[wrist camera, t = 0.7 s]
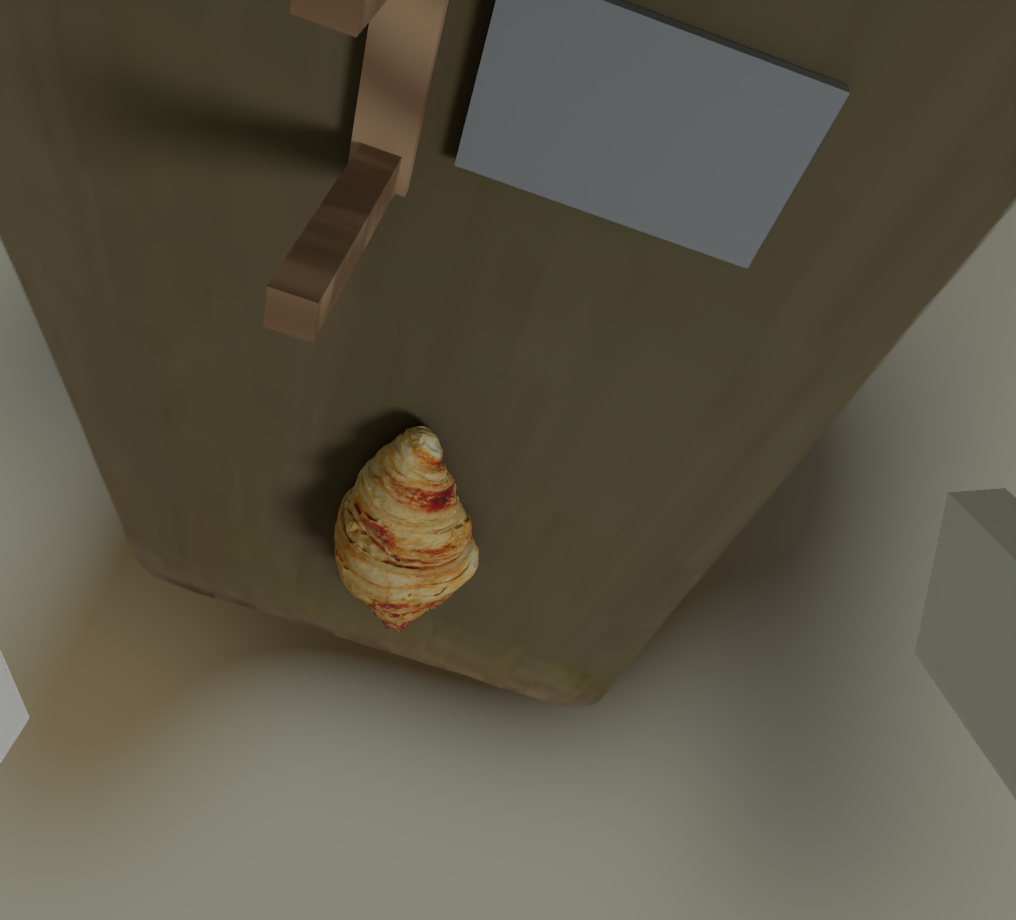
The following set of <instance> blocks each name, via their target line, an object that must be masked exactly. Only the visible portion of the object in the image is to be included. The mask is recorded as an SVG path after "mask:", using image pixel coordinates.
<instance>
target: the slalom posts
mask: <svg viewBox="0 0 1016 920" xmlns="http://www.w3.org/2000/svg"><path fill="white" fill-rule="evenodd" d="M448 1H449V0H291V7H290V14H292V15H295V16H298V17H301V18H303V19H306V20H309V21H312V22H314V23H317V24H320V25H323V26H325V27H328V28H331V29H334V30H337V31H339V32H342V33H345V34H348V35H350V36H353V37H357V36H358V35H359V34H360V33H361V31H362V30H363V29H364V28H365V26H366V25H367V24H368V23H369V26H368V33H367V39H366V46H365V52H364V59H363V66H362V72H361V79H360V86H359V92H358V99H357V106H356V112H355V119H354V126H353V132H352V139H351V145H350V152H349V159H348V164H347V166H346V167H345V169H344V170H343V172H342V173H341V175H340V176H339V178H338V179H337V181H336V182H335V184H334V185H333V187H332V188H331V190H330V191H329V193H328V195H327V196H326V198H325V199H324V201H323V202H322V204H321V205H320V207H319V208H318V210H317V211H316V213H315V214H314V216H313V217H312V219H311V220H310V222H309V223H308V225H307V226H306V228H305V229H304V231H303V232H302V234H301V235H300V237H299V238H298V240H297V241H296V243H295V245H294V246H293V248H292V249H291V251H290V252H289V254H288V255H287V257H286V258H285V260H284V261H283V263H282V264H281V266H280V267H279V269H278V270H277V272H276V273H275V275H274V276H273V278H272V279H271V281H270V282H269V284H268V285H267V292H266V304H265V316H264V327H266V328H269V329H272V330H275V331H278V332H281V333H284V334H287V335H290V336H293V337H296V338H299V339H302V340H305V341H308V342H311V343H313V342H314V340H315V338H316V337H317V335H318V333H319V331H320V329H321V327H322V326H323V324H324V322H325V320H326V318H327V316H328V315H329V313H330V311H331V309H332V307H333V305H334V304H335V302H336V300H337V298H338V296H339V294H340V293H341V291H342V289H343V287H344V285H345V283H346V282H347V280H348V278H349V276H350V274H351V273H352V271H353V269H354V267H355V265H356V263H357V262H358V260H359V258H360V256H361V254H362V252H363V251H364V249H365V247H366V245H367V243H368V241H369V240H370V238H371V236H372V234H373V232H374V230H375V229H376V227H377V225H378V223H379V221H380V219H381V218H382V216H383V214H384V212H385V210H386V209H387V207H388V205H389V203H390V201H391V199H392V198H393V196H394V194H397V195H400V196H403V197H405V195H406V193H407V191H408V189H409V184H410V180H411V175H412V170H413V165H414V161H415V156H416V151H417V147H418V142H419V137H420V133H421V128H422V123H423V118H424V114H425V109H426V104H427V100H428V95H429V90H430V86H431V81H432V76H433V71H434V67H435V62H436V57H437V53H438V48H439V43H440V39H441V34H442V29H443V25H444V20H445V15H446V10H447V6H448Z"/></svg>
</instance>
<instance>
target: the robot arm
mask: <svg viewBox="0 0 1016 920" xmlns="http://www.w3.org/2000/svg"><path fill="white" fill-rule="evenodd" d="M915 655H916V656H917V658H918V659H919V661H920V662H921V663H922V665H923V666H924V668H925V669H926V671H927V672H928V674H929V675H930V676H931V678H932V679H933V681H934V682H935V684H936V685H937V686H938V688H939V689H940V691H941V692H942V694H943V695H944V697H945V698H946V699H947V701H948V702H949V704H950V705H951V706H952V708H953V709H954V711H955V713H956V714H957V715H958V717H959V718H960V720H961V721H962V723H963V724H964V726H965V727H966V728H967V730H968V731H969V733H970V734H971V736H972V737H973V739H974V740H975V741H976V743H977V744H978V746H979V747H980V748H981V750H982V752H983V753H984V754H985V756H986V757H987V759H988V760H989V762H990V763H991V764H992V766H993V767H994V769H995V770H996V772H997V773H998V775H999V776H1000V777H1001V779H1002V780H1003V782H1004V783H1005V785H1006V786H1007V787H1008V789H1009V790H1010V792H1011V793H1012V795H1013V796H1014V797H1015V799H1016V498H1015V497H1014V496H1013V495H1012V494H1011V493H1010V492H1009V491H1007V490H1006V489H1005V488H1004V489H990V490H976V491H962V492H949V493H948V495H947V500H946V504H945V509H944V514H943V519H942V524H941V529H940V533H939V539H938V543H937V549H936V553H935V558H934V563H933V567H932V572H931V578H930V582H929V587H928V592H927V597H926V601H925V606H924V611H923V616H922V621H921V626H920V631H919V635H918V640H917V645H916V650H915ZM28 719H29V715H28V713H27V710H26V708H25V706H24V704H23V701H22V699H21V697H20V695H19V692H18V690H17V687H16V685H15V683H14V680H13V678H12V676H11V674H10V671H9V669H8V667H7V664H6V662H5V660H4V658H3V655H2V653H1V651H0V763H1V762H2V760H3V759H4V757H5V755H6V754H7V752H8V751H9V749H10V748H11V746H12V744H13V743H14V741H15V740H16V738H17V736H18V735H19V733H20V732H21V730H22V729H23V727H24V726H25V724H26V722H27V721H28Z"/></svg>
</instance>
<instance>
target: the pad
mask: <svg viewBox="0 0 1016 920" xmlns="http://www.w3.org/2000/svg"><path fill="white" fill-rule="evenodd" d="M849 94H850V91H849V87H848V85H846V84H843V83H841V82H838V81H835V80H833V79H830V78H827V77H825V76H822V75H819V74H817V73H814V72H811V71H809V70H806V69H803V68H801V67H798V66H795V65H793V64H790V63H787V62H785V61H782V60H779V59H777V58H774V57H771V56H769V55H766V54H763V53H761V52H758V51H755V50H753V49H750V48H747V47H745V46H742V45H739V44H737V43H734V42H731V41H729V40H726V39H723V38H721V37H718V36H715V35H713V34H710V33H707V32H705V31H702V30H699V29H697V28H694V27H691V26H689V25H686V24H683V23H681V22H678V21H675V20H673V19H670V18H667V17H665V16H662V15H659V14H657V13H654V12H651V11H649V10H646V9H643V8H641V7H638V6H635V5H633V4H630V3H627V2H625V1H622V0H496V2H495V6H494V10H493V14H492V18H491V22H490V26H489V30H488V33H487V37H486V41H485V45H484V49H483V53H482V57H481V61H480V65H479V69H478V73H477V77H476V81H475V85H474V89H473V93H472V97H471V101H470V105H469V109H468V113H467V117H466V121H465V125H464V129H463V133H462V137H461V141H460V145H459V149H458V153H457V157H456V161H455V166H457V167H460V168H463V169H466V170H469V171H472V172H474V173H477V174H480V175H483V176H486V177H489V178H491V179H494V180H497V181H500V182H503V183H506V184H508V185H511V186H514V187H517V188H520V189H523V190H525V191H528V192H531V193H534V194H537V195H540V196H542V197H545V198H548V199H551V200H554V201H557V202H559V203H562V204H565V205H568V206H571V207H574V208H576V209H579V210H582V211H585V212H588V213H591V214H593V215H596V216H599V217H602V218H605V219H608V220H610V221H613V222H616V223H619V224H622V225H625V226H627V227H630V228H633V229H636V230H639V231H642V232H644V233H647V234H650V235H653V236H656V237H659V238H661V239H664V240H667V241H670V242H673V243H676V244H678V245H681V246H684V247H687V248H690V249H693V250H695V251H698V252H701V253H704V254H707V255H710V256H712V257H715V258H718V259H721V260H724V261H727V262H729V263H732V264H735V265H738V266H741V267H744V268H746V269H747V268H748V267H749V265H750V263H751V261H752V260H753V258H754V256H755V255H756V253H757V251H758V250H759V248H760V246H761V244H762V243H763V241H764V239H765V238H766V236H767V234H768V232H769V231H770V229H771V227H772V226H773V224H774V222H775V220H776V219H777V217H778V215H779V214H780V212H781V210H782V208H783V207H784V205H785V203H786V202H787V200H788V198H789V196H790V195H791V193H792V191H793V190H794V188H795V186H796V184H797V183H798V181H799V179H800V178H801V176H802V174H803V173H804V171H805V169H806V167H807V166H808V164H809V162H810V161H811V159H812V157H813V155H814V154H815V152H816V150H817V149H818V147H819V145H820V143H821V142H822V140H823V138H824V137H825V135H826V133H827V131H828V130H829V128H830V126H831V125H832V123H833V121H834V119H835V118H836V116H837V114H838V113H839V111H840V109H841V107H842V106H843V104H844V102H845V101H846V99H847V97H848V96H849Z"/></svg>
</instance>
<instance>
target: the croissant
mask: <svg viewBox="0 0 1016 920" xmlns="http://www.w3.org/2000/svg"><path fill="white" fill-rule="evenodd" d="M442 456H443V450H442V448H441V445H440V443H439V440H438V438H437V436H436V435H435V434H434V433H432V431H431V430H430V429H429V428H427V427H424V426H417V427H412V428H409V429H406V430H405V432H404V433H402V434H400V435H398V436H397V437H396V438H395V440H394V441H392V442H391V443H389V444H387V445H385V446H383V447H382V448H381V449H380V450H379V451H378V453H377V454H376V455H375V456H374V457H373V458H372V459H371V460H369V461H368V462H367V463H366V464H365V466H364V467H363V468H362V469H361V471H360V472H359V474H358V477H357V481H356V483H355V486H354V487H352V488H351V489H349V490H348V492H347V493H346V494H345V496H344V498H343V500H342V502H341V505H340V509H339V512H338V519H337V522H336V524H335V536H334V540H335V551H334V552H335V559H336V564H337V567H338V570H339V571H338V573H339V575H340V578H341V580H342V582H343V583H344V585H345V587H346V589H347V590H349V593H351V594H353V596H355V597H357V598H359V599H360V600H361V601H362V602H363V603H364V604H365V605H366V606H368V607H370V609H371V610H372V611H373V613H374V614H375V615H376V616H377V617H378V618H379V619H381V620H382V621H383V623H384V625H385V628H388V629H394V630H397V631H402V630H404V629H406V628H407V627H408V626H409V625H410V622H411V621H412V620H415V619H416V618H418V617H419V616H421V615H422V614H423V613H424V612H425V611H426V612H428V611H429V608H430V609H432V608H436V606H437V605H439V604H441V603H442V602H443V601H445V600H446V599H447V598H448V597H450V596H451V595H452V593H453V592H454V591H455V590H457V589H458V588H459V587H461V586H462V585H463V584H464V583H465V582H467V581H468V580H469V579H470V578H471V577H472V576H473V575H474V573H475V571H476V569H477V567H478V553H479V549H478V547H477V546H476V544H475V542H474V539H473V537H472V535H471V532H472V524H471V518H470V516H469V514H466V512H465V510H464V508H463V507H462V504H461V502H460V501H459V497H458V496H456V484H455V481H454V478H453V476H452V475H451V474H450V473H449V472H448V471H447V469H446V465H445V464H443V463H442V459H443V457H442Z"/></svg>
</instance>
